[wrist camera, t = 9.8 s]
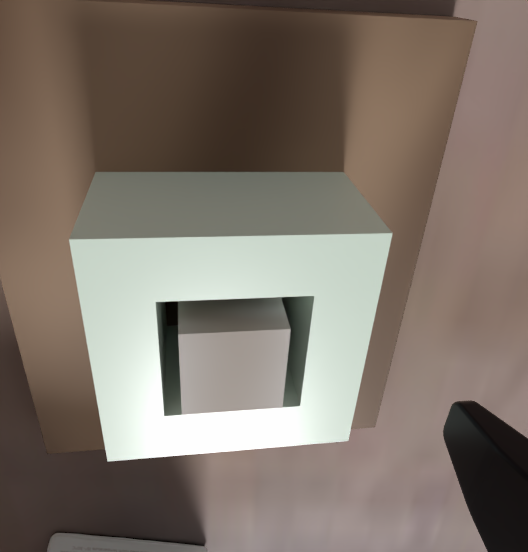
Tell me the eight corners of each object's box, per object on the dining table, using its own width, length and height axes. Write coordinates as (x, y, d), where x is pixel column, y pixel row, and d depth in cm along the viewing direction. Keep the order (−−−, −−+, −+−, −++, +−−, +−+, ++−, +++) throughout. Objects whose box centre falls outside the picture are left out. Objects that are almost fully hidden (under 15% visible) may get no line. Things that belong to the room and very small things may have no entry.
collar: (343, 172, 13) (392, 233, 10) (317, 354, 17) (348, 441, 14) (95, 171, 12) (68, 239, 9) (120, 366, 16) (107, 461, 13)
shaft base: (453, 16, 13) (597, 44, 8) (365, 403, 20) (416, 525, 16) (-53, -11, 11) (-208, 6, 7) (54, 427, 18) (15, 571, 14)
